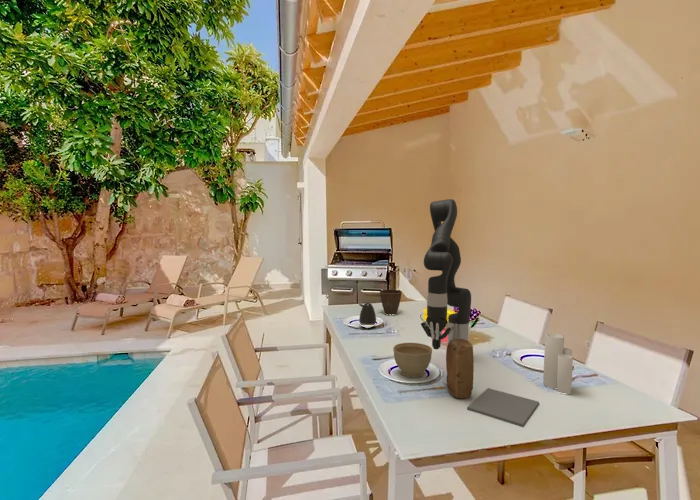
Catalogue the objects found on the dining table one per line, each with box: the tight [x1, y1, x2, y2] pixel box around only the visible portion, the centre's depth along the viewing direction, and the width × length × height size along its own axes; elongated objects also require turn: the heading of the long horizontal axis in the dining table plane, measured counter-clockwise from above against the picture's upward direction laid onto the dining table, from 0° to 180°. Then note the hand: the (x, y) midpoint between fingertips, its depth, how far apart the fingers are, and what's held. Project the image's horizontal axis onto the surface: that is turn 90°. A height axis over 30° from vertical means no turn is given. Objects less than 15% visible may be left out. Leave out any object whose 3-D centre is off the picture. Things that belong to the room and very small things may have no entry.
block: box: [445, 339, 475, 399], centre depth 145 cm, size 11×8×20 cm
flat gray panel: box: [466, 387, 540, 428], centre depth 136 cm, size 20×18×1 cm
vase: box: [542, 332, 574, 394], centre depth 150 cm, size 11×7×20 cm, turn 27°
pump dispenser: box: [358, 302, 377, 326], centre depth 236 cm, size 10×10×15 cm
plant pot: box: [379, 289, 403, 315], centre depth 270 cm, size 15×15×16 cm
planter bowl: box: [392, 342, 433, 378], centre depth 165 cm, size 16×16×11 cm
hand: (436, 348), depth 151 cm, fingers closed
